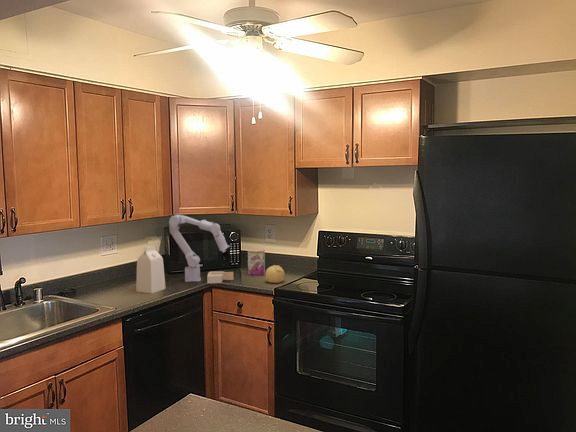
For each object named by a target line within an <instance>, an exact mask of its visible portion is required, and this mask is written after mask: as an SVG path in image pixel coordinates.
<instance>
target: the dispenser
mask: <svg viewBox="0 0 576 432" xmlns="http://www.w3.org/2000/svg"><path fill="white" fill-rule="evenodd" d="M213 272H214V271H208V273H207V278H206V279H207V280H206V281H207V283H206V284H223V280H222V277H223V274H211V273H213ZM215 272H225V271H223V270H219V271H215Z"/></svg>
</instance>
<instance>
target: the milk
mask: <svg viewBox="0 0 576 432" xmlns="http://www.w3.org/2000/svg"><path fill="white" fill-rule="evenodd" d="M155 248H156V247H155V246H154V245H149V246H145V247H144V250H143V253H142V254H141V255H140V256H139V257H138V258H137V260H136V285H135V286H136V287H135V288H136V289H135V292H137V293H138V292H139V293H144V294H154V293H157V292H160V291H163V290H165V289H166V279H165V267H164V258H163V256H162V255H161V254H160V253H159V252H158V251H157V250H156V249H155Z"/></svg>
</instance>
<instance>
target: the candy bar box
mask: <svg viewBox="0 0 576 432" xmlns="http://www.w3.org/2000/svg"><path fill="white" fill-rule="evenodd" d="M265 252H266V251H265V249H248V250H247V275H248V276H264V275H265V273H266V268H265V267H266V258H265V256H266V253H265Z"/></svg>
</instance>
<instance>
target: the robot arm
mask: <svg viewBox="0 0 576 432" xmlns="http://www.w3.org/2000/svg"><path fill="white" fill-rule="evenodd" d="M186 223H187V224H189V225H190V224H191V225H195V226H198V228H199V229H200V230H204V231H207V232H210V233H211V234H212V235H213V238H214V240H215V242H216V244H217V246H218V247H217V248H218V249H219V252H221V253H220V255H221V256H222V257H223V258H224V260H225V261H226V263H229V262H231V261H232V257H231V253H230V249H231V248H230V247H231V246H230V245H229V244H228V243H227V241H226V238H225V236H224V234H223V232H222V231H221V225H220V224H218V223H217V222H214V221H207V219H202V220H198V219H195V218H193V217H189V216H187V215H183V214H178V213H177V214H175V215H171V217H169V221H168V224H169V234H171V236H172V237H173V239H174V241H175V242H176V244H177V245H178V247H179V248H180V250H181V251H182V253H183V254H184V255H185V259H186V262H187V265H188V266H185V268H184V281H185V283H187V282H190V283H191V282H201V280H202V277H201V266H200V263H201V258H200V256H199V255H197V254H196V253H195V251H193V250H192V249H191V247H190V245H189V244H188V243H187V241H186V239H185V238H184V237H183V235H182V234H181V232H180V231H179V230H180V227H181V225H182V224H186Z"/></svg>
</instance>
